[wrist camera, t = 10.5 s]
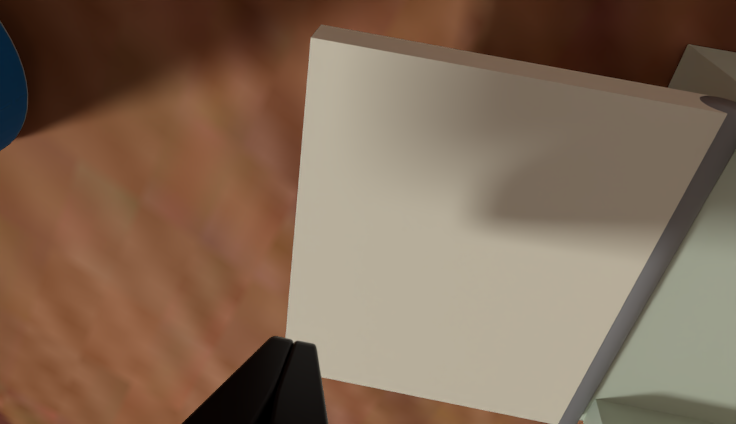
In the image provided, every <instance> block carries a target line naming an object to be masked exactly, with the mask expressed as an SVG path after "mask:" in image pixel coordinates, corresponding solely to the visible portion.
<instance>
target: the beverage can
mask: <svg viewBox="0 0 736 424" xmlns="http://www.w3.org/2000/svg"><path fill="white" fill-rule="evenodd" d="M27 109H28V88H27V81H26V76H25V72H24V68H23V65H22V62H21V60H20V57H19V54H18V52H17V50H16V48H15V46H14V44H13V42H12V39H11V38H10V36H9V34H8V33H7V31H6V29H5V28H4V26H3V24H2V23H1V21H0V151H1V150H2V149H4V148H5V147H6V146H8V145H9V144H10V143H11V142H12V141H13V140H14V139H15V138H16V137H17V135H18V134H19V132H20V130H21V129H22V127H23V124H24V121H25V119H26V114H27Z"/></svg>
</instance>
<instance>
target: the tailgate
mask: <svg viewBox="0 0 736 424" xmlns="http://www.w3.org/2000/svg"><path fill="white" fill-rule="evenodd" d="M735 149H736V102H734V101H731V100H728V99H725V98H720V97H715V96H707V95H704V94H699V93H693V92H688V91H683V90H677V89H672V88H666V87H661V86H655V85H650V84H644V83H639V82H633V81H628V80H622V79H617V78H611V77H606V76H600V75H595V74H590V73H584V72H579V71H573V70H568V69H562V68H557V67H551V66H546V65H540V64H535V63H529V62H524V61H518V60H513V59H507V58H502V57H496V56H491V55H486V54H480V53H475V52H469V51H464V50H458V49H453V48H447V47H442V46H436V45H431V44H425V43H420V42H414V41H409V40H403V39H398V38H393V37H387V36H382V35H376V34H371V33H365V32H360V31H354V30H349V29H343V28H338V27H332V26H327V25H320V27H319V28H318V29H317V30H316V32H315V33H314V34H313V35H312V37H311V41H310V53H309V65H308V77H307V88H306V100H305V112H304V124H303V136H302V148H301V160H300V172H299V184H298V195H297V207H296V219H295V231H294V243H293V255H292V267H291V279H290V291H289V302H288V314H287V326H286V338H288V339H291V340H293V342H295V341H303V342H308V343H313V344H315V345H316V347H317V353H318V359H319V366H320V373H321V377H323V378H328V379H333V380H338V381H343V382H348V383H353V384H358V385H363V386H368V387H373V388H378V389H383V390H388V391H392V392H397V393H402V394H407V395H412V396H417V397H422V398H427V399H432V400H437V401H442V402H447V403H452V404H457V405H461V406H466V407H471V408H476V409H481V410H486V411H491V412H496V413H501V414H506V415H511V416H516V417H521V418H526V419H530V420H535V421H540V422H545V423H550V424H577V423H578V421H579V419H580V418H581V416H582V414H583V412H584V411H585V409H586V407H587V405H588V404H589V402H590V400H591V399H592V397H593V395H594V393H595V392H596V390H597V388H598V386H599V385H600V383H601V381H602V379H603V378H604V376H605V374H606V373H607V371H608V369H609V367H610V366H611V364H612V362H613V360H614V359H615V357H616V355H617V353H618V352H619V350H620V348H621V347H622V345H623V343H624V341H625V340H626V338H627V336H628V334H629V333H630V331H631V329H632V328H633V326H634V324H635V322H636V321H637V319H638V317H639V315H640V314H641V312H642V310H643V308H644V307H645V305H646V303H647V302H648V300H649V298H650V296H651V295H652V293H653V291H654V289H655V288H656V286H657V284H658V282H659V281H660V279H661V277H662V276H663V274H664V272H665V270H666V269H667V267H668V265H669V263H670V262H671V260H672V258H673V256H674V255H675V253H676V251H677V250H678V248H679V246H680V244H681V243H682V241H683V239H684V237H685V236H686V234H687V232H688V231H689V229H690V227H691V225H692V224H693V222H694V220H695V218H696V217H697V215H698V213H699V211H700V210H701V208H702V206H703V205H704V203H705V201H706V199H707V198H708V196H709V194H710V192H711V191H712V189H713V187H714V185H715V184H716V182H717V180H718V179H719V177H720V175H721V173H722V172H723V170H724V168H725V166H726V165H727V163H728V161H729V159H730V158H731V156H732V154H733V153H734V151H735Z"/></svg>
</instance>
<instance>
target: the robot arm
mask: <svg viewBox="0 0 736 424" xmlns="http://www.w3.org/2000/svg"><path fill="white" fill-rule="evenodd" d="M182 424H328V419H327V412H326V405H325V399H324V392H323V386H322V379H321V373H320V366H319V359H318V353H317V347H316V345H315V344H313V343H308V342H303V341H295V342H293V340H291V339H288V338H283V337H278V336H273V337H271V338H269V339H268V340H267V341H266V342H265V343H264V344H263V345H262V346H261V347H260V348H259V349H258V350H257V351H256V352H255V353H254V354H253V355H252V356H251V357H250V358H249V359H248V360H247V361H246V362H245V363H244V364H243V365H242V366H241V367H240V368H238V369H237V370H236V371H235V372H234V373H233V374H232V375H231V376H230V377H229V378H228V379H227V380H226V381H225V382H224V383H223V384H222V385H221V386H220V387H219V388H218V389H217V390H216V391H215V392H214V393H213V394H212V395H211V396H210V397H209V398H208V399H207V400H206V401H205V402H203V403H202V404H201V405H200V406H199V407H198V408H197V409H196V410H195V411H194V412H193V413H192V414H191V415H190V416H189V417H188V418H187V419H186V420H185V421H184V422H183V423H182Z"/></svg>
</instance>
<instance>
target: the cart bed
mask: <svg viewBox="0 0 736 424" xmlns="http://www.w3.org/2000/svg"><path fill="white" fill-rule="evenodd" d="M668 88H672V89H677V90H683V91H688V92H693V93H699V94H704V95H707V96H715V97H720V98H725V99H728V100H731V101H734V102H736V52H730V51H724V50H719V49H713V48H708V47H702V46H696V45H691V44H688V45H687V47H686V49H685V52H684V54H683V56H682V58H681V60H680V62H679V64H678V67H677V69H676V71H675V73H674V75H673V77H672V79H671V82H670V84H669V86H668ZM579 420H583V423H584V424H736V149H735V151H734V153H733V154H732V156H731V158H730V159H729V161H728V163H727V165H726V166H725V168H724V170H723V172H722V173H721V175H720V177H719V179H718V180H717V182H716V184H715V185H714V187H713V189H712V191H711V192H710V194H709V196H708V198H707V199H706V201H705V203H704V205H703V206H702V208H701V210H700V211H699V213H698V215H697V217H696V218H695V220H694V222H693V224H692V225H691V227H690V229H689V231H688V232H687V234H686V236H685V237H684V239H683V241H682V243H681V244H680V246H679V248H678V250H677V251H676V253H675V255H674V256H673V258H672V260H671V262H670V263H669V265H668V267H667V269H666V270H665V272H664V274H663V276H662V277H661V279H660V281H659V282H658V284H657V286H656V288H655V289H654V291H653V293H652V295H651V296H650V298H649V300H648V302H647V303H646V305H645V307H644V308H643V310H642V312H641V314H640V315H639V317H638V319H637V321H636V322H635V324H634V326H633V328H632V329H631V331H630V333H629V334H628V336H627V338H626V340H625V341H624V343H623V345H622V347H621V348H620V350H619V352H618V353H617V355H616V357H615V359H614V360H613V362H612V364H611V366H610V367H609V369H608V371H607V373H606V374H605V376H604V378H603V379H602V381H601V383H600V385H599V386H598V388H597V390H596V392H595V393H594V395H593V397H592V399H591V400H590V402H589V404H588V405H587V407H586V409H585V411H584V412H583V414H582V416H581V418H580V419H579Z"/></svg>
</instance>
